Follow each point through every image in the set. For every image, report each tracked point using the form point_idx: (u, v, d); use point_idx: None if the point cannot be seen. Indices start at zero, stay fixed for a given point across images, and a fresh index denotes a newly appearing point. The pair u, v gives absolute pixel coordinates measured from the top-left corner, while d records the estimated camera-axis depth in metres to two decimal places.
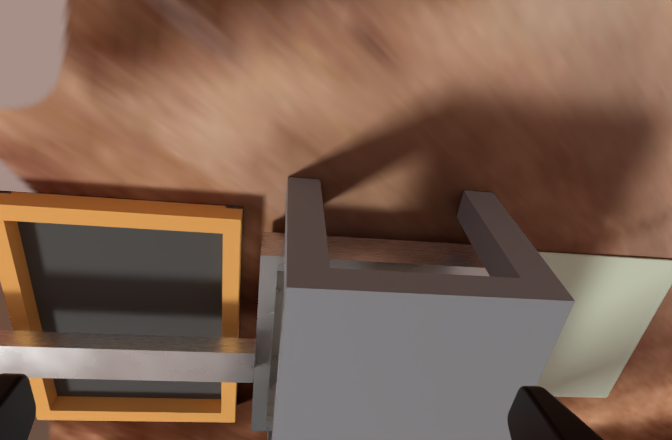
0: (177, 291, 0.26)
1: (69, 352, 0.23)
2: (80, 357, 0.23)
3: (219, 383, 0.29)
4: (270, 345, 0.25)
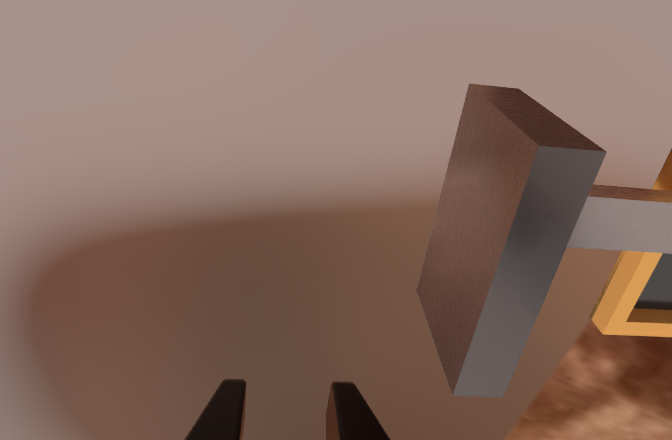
0: None
1: None
2: None
3: None
4: None
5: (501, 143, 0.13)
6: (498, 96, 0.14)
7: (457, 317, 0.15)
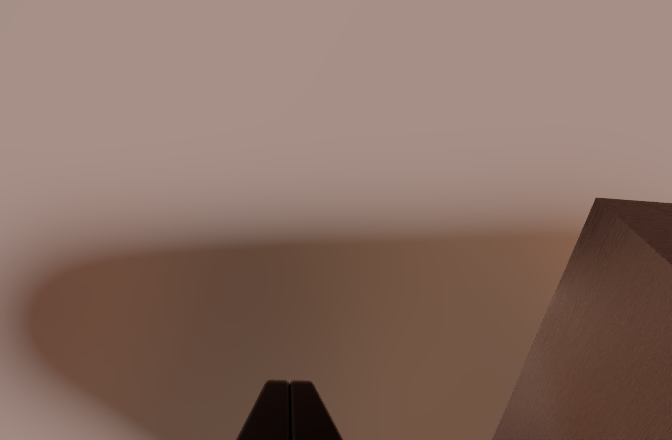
0: None
1: None
2: None
3: None
4: None
5: None
6: (664, 234, 0.08)
7: None
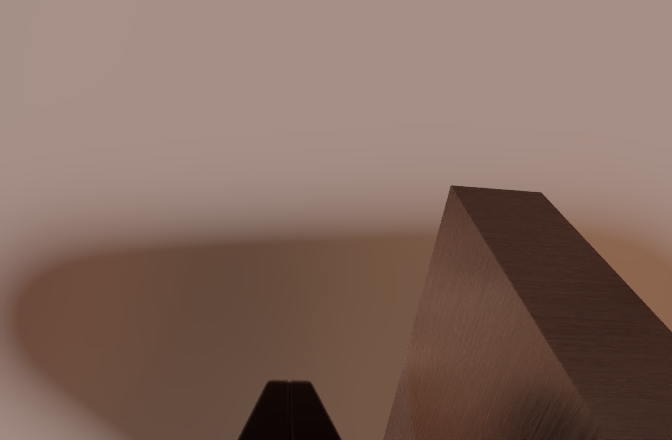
0: None
1: None
2: None
3: None
4: None
5: (514, 361, 0.06)
6: (505, 223, 0.07)
7: None
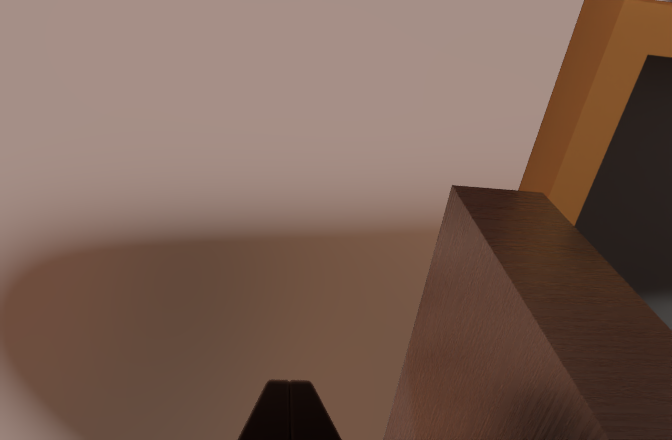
0: None
1: None
2: None
3: None
4: None
5: (516, 361, 0.06)
6: (507, 223, 0.07)
7: None
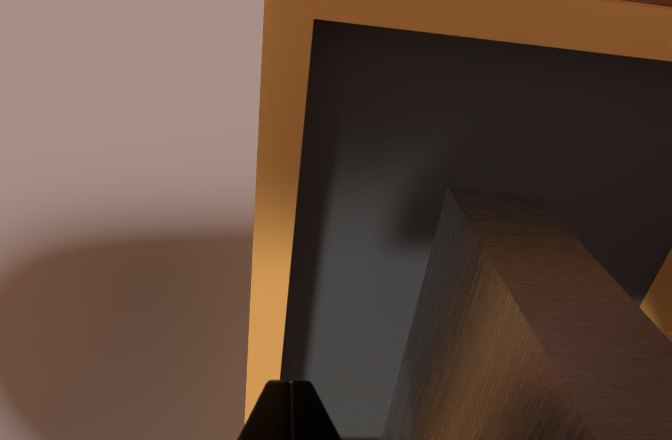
0: (585, 237, 0.12)
1: None
2: None
3: None
4: None
5: (507, 359, 0.06)
6: (500, 224, 0.07)
7: None
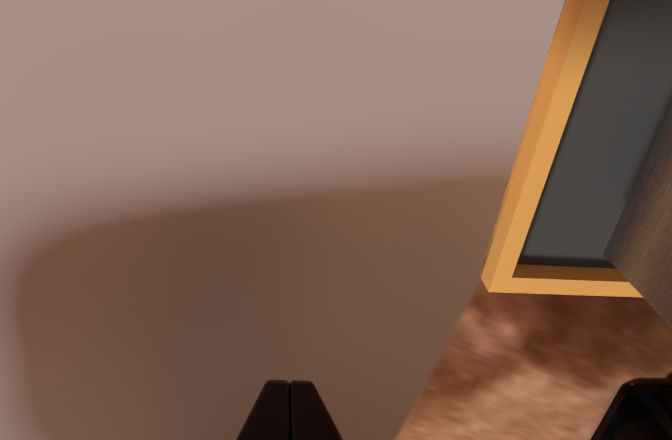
0: None
1: None
2: None
3: None
4: None
5: None
6: None
7: None
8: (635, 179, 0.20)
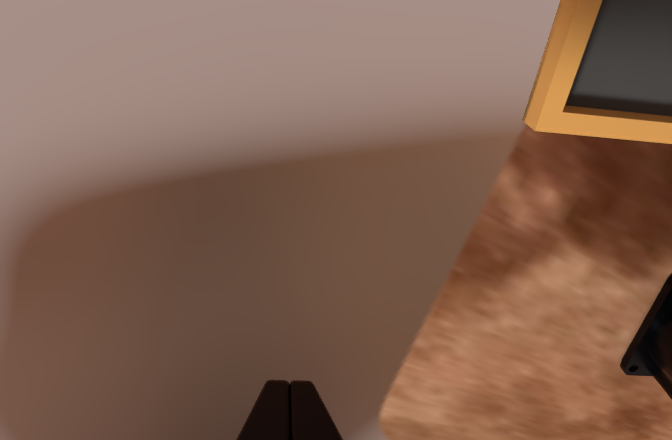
0: None
1: None
2: None
3: None
4: None
5: None
6: None
7: None
8: None
